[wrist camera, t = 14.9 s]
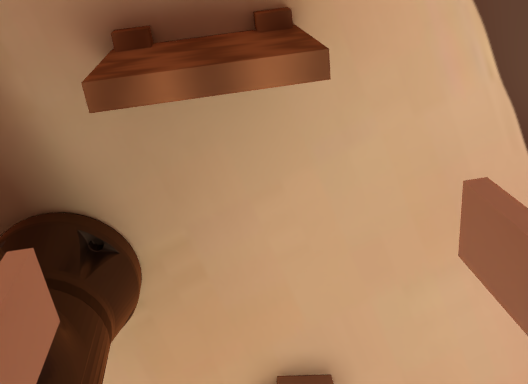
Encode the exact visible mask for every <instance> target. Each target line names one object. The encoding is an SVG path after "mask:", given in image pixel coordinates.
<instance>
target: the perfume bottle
mask: <svg viewBox="0 0 528 384" xmlns="http://www.w3.org/2000/svg"><path fill="white" fill-rule="evenodd" d="M277 384H334V383H333V380H332V377H331V375H305V376H277Z"/></svg>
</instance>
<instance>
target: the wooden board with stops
mask: <svg viewBox="0 0 528 384" xmlns="http://www.w3.org/2000/svg"><path fill="white" fill-rule="evenodd" d="M254 21H255V30H250V31H242V32H235V33H227V34H220V35H212V36H205V37H197V38H190V39H182V40H175V41H168V42H160V43H153V39H152V34H151V30H150V26H142V27H135V28H127V29H119V30H114V31H113V32H112V33H111V36H112V40H113V45H114V49H112V50H111V51H110V52H109V54H108V55H107V56H106V57H105V58H104V59H103V60H102V61H101V62H100V63H99V64H98V65H97V66H96V68H95V69H94V70H93V71H92V72H91V73H90V74H89V75H88V76H87V77H86V78H85V79H84V80H83V82H82V87H83V91H84V94H85V98H86V102H87V105H88V109H89V113H95V112H102V111H109V110H116V109H123V108H130V107H137V106H144V105H151V104H158V103H166V102H173V101H180V100H187V99H194V98H201V97H208V96H215V95H222V94H229V93H237V92H244V91H251V90H258V89H265V88H272V87H279V86H286V85H293V84H300V83H308V82H315V81H322V80H329V79H330V60H329V49H328V48H327V47H326V46H324V45H323V44H321V43H320V42H319V41H317V40H316V39H314V38H313V37H312V36H310V35H309V34H307V33H306V32H304V31H303V30H302V29H300V28H299V27H297V26H296V25H293V24H292V12H291V9H290V8H288V7H286V8H279V9H271V10H264V11H256V12H254Z"/></svg>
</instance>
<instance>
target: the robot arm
mask: <svg viewBox="0 0 528 384" xmlns="http://www.w3.org/2000/svg"><path fill="white" fill-rule="evenodd" d="M458 256H459V257H460V258H461V259H462V261H463V262H464V263H465V264H466V265H467V266H468V268H469V269H470V270H471V271H472V272H473V273H474V274H475V276H476V277H477V278H478V279H479V280H480V281H481V282H482V284H483V285H484V286H485V287H486V288H487V289H488V291H489V292H490V293H491V294H492V295H493V296H494V297H495V299H496V300H497V301H498V302H499V303H500V304H501V306H502V307H503V308H504V309H505V310H506V311H507V312H508V314H509V315H510V316H511V317H512V318H513V319H514V321H515V322H516V323H517V324H518V325H519V326H520V327H521V329H522V330H523V331H524V332H525V333H526V334H527V336H528V208H527V207H525V206H524V205H523V204H521V203H520V202H519V201H518V200H516V199H515V198H514V197H512V196H511V195H510V194H508V193H507V192H506V191H504V190H503V189H502V188H501V187H499V186H498V185H497V184H495V183H494V182H493V181H491V180H490V179H489V178H488V177H485V178H479V179H472V180H466V181H463V193H462V208H461V223H460V237H459V252H458ZM141 280H142V277H141V268H140V264H139V261H138V259H137V256H136V254H135V252H134V251H133V249H132V248H131V246H130V245H129V244H128V242H127V241H126V240H125V239H124V238H123V237H122V236H121V235H120V234H119V233H117V232H116V231H115V230H113V229H112V228H110V227H109V226H107V225H105V224H104V223H102V222H100V221H97V220H95V219H92V218H89V217H86V216H83V215H78V214H72V213H47V214H41V215H37V216H33V217H30V218H27V219H25V220H23V221H21V222H19V223H17V224H16V225H14V226H13V227H11V228H10V229H9V230H7V231H6V232H5V233H4V234H3V235H2V236H1V238H0V384H102V383H103V378H104V373H105V368H106V364H107V359H108V354H109V349H110V344H111V342H112V341H113V339H114V338H115V337H116V335H117V334H118V333H119V331H120V330H121V329H122V328H123V326H124V325H125V324H126V323H127V322H128V320H129V319H130V318H131V316H132V314H133V313H134V310H135V308H136V306H137V303H138V299H139V294H140V288H141Z"/></svg>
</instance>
